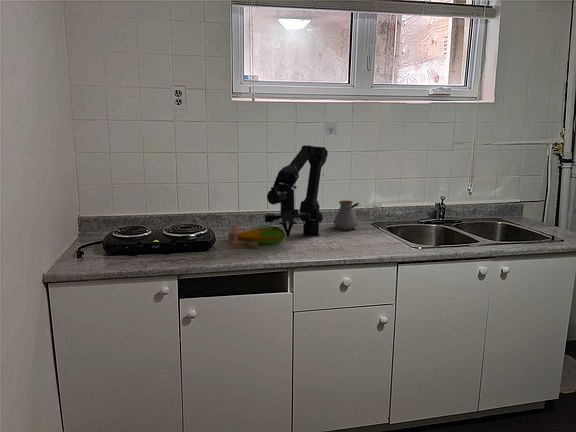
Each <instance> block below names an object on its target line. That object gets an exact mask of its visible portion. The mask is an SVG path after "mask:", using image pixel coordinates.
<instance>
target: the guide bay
mask: <svg viewBox="0 0 576 432" xmlns="http://www.w3.org/2000/svg"><path fill="white" fill-rule="evenodd" d="M240 233H241V232H240V226H239V225H231V227H230V229H229V231H228V236H227V238H228V241H227V243H228V249H229V250H230V249H237V250H238V249H245V250H246V249H248V250H249V249H256V250H257V249H259V248H260V247H259V245H260V244H259V242H245V241H246V240H245V239H241V238H239V237H238V234H240Z"/></svg>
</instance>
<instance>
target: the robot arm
mask: <svg viewBox="0 0 576 432" xmlns="http://www.w3.org/2000/svg"><path fill="white" fill-rule="evenodd" d="M328 154H329V151H328V149H327V148H326V147H325V146H313V145H308V144H307V145H306V144H305V145H302V146H301V148H300V150H299V152H298V153H297V154H296V155H295V157H294V158H293V159H292V161H291V162H290V163H289V164H287V165H286V166H283V167H282V168H281V169H280V170H279V171H278V173H277V175H276V177H275V180H274V182H273V185H272V186H271V187H270V190H269V191H268V192H267V194H266V199H267V200H266V201H268V203H269V204H271V205H277V204H279V205H280V214H275V212H266V213H265V214H264V222H265V223H273V222H274V221H275V220H277V221H278V222H279V225H282V227H283V229H284V233H285V236H286V238H287V239H288V238H290V235H291V230H292V228H293V226H294V225H295V224H297V220H301V221H302V222H304V223H302V226H303V227H302V233H303V234H304V236H306V237H307V236H310V237H311V236H314V237H315V236H317V237H318V236H320V233H319V231H320V230H319V229H320V223H322V222H323V220H324V216H323V213H322V212H321V211H320V208H321V207H320V203H319V201H318V193H319V186H320V179H321V172H322V167H323V166H324V165H325V164H326V162H327V158H328ZM307 162H308V163H309V172H308V181H307V186H306V187H307V188H306V194H305V199H303V200H302V201H300V206H299V208H297V209H295V189H297V188H298V187H297V186H296V183H297V181H298V179H299V177H300V175H299V174H300V172H301V169H303V167H304V166H305V165H306V163H307ZM287 222H288V224H287Z"/></svg>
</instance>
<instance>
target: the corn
mask: <svg viewBox="0 0 576 432" xmlns="http://www.w3.org/2000/svg"><path fill="white" fill-rule="evenodd" d="M251 228H252V229H248V230H244V231H241V232H239V233H240V234H238V237H239V238H241V239H245V240H244V242H259V245H260V246H261V245H263V246H264V245H265V246H266V245H277V244H279V243H281V242H282V241H284V240H285V238H286V232H285V230H283V229H282V228H281V227H279V226H274V225H258V226H251Z"/></svg>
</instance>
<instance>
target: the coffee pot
mask: <svg viewBox="0 0 576 432" xmlns="http://www.w3.org/2000/svg"><path fill="white" fill-rule="evenodd" d="M338 203H339V205H340V207H339V208H338V211H337V213H336V216H335V218H334V220H333V225H334V226H335V227H337V229H338V230H341V231H351V230H354V228H356V227H358V224H359V221H358V220H357V217H356V214H355V211H354V209H353V208H358V206H359V207H361V204H360V203H359V202H356V203H354V202H353V201H352V200H340V201H338ZM353 203H354V204H353Z"/></svg>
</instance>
